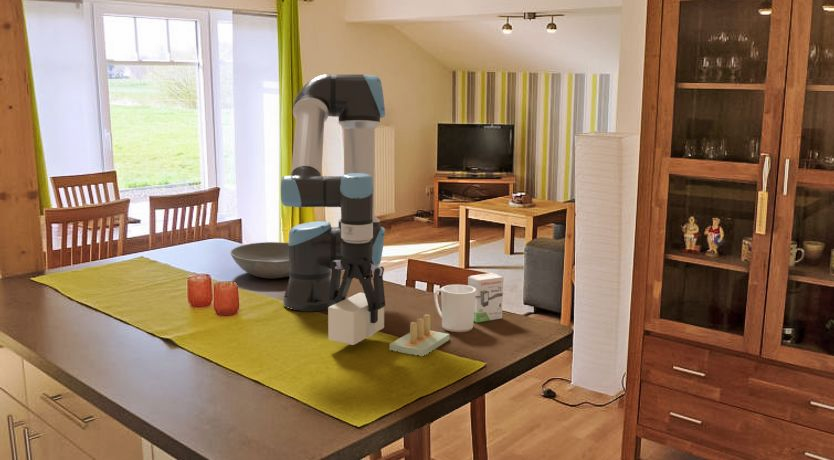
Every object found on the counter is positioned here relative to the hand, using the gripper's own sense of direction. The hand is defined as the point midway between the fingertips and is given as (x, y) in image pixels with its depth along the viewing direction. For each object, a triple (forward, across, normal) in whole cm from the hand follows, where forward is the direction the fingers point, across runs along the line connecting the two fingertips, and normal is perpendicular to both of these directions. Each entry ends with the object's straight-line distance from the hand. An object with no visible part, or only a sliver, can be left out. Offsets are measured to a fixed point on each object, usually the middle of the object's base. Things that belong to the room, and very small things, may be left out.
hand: (356, 332), depth 190 cm
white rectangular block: (0, 0, 0) cm, 0 cm away
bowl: (+5, -60, +44) cm, 74 cm away
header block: (+3, +13, +7) cm, 16 cm away
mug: (+4, +14, +24) cm, 28 cm away
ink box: (+4, +18, +35) cm, 40 cm away
